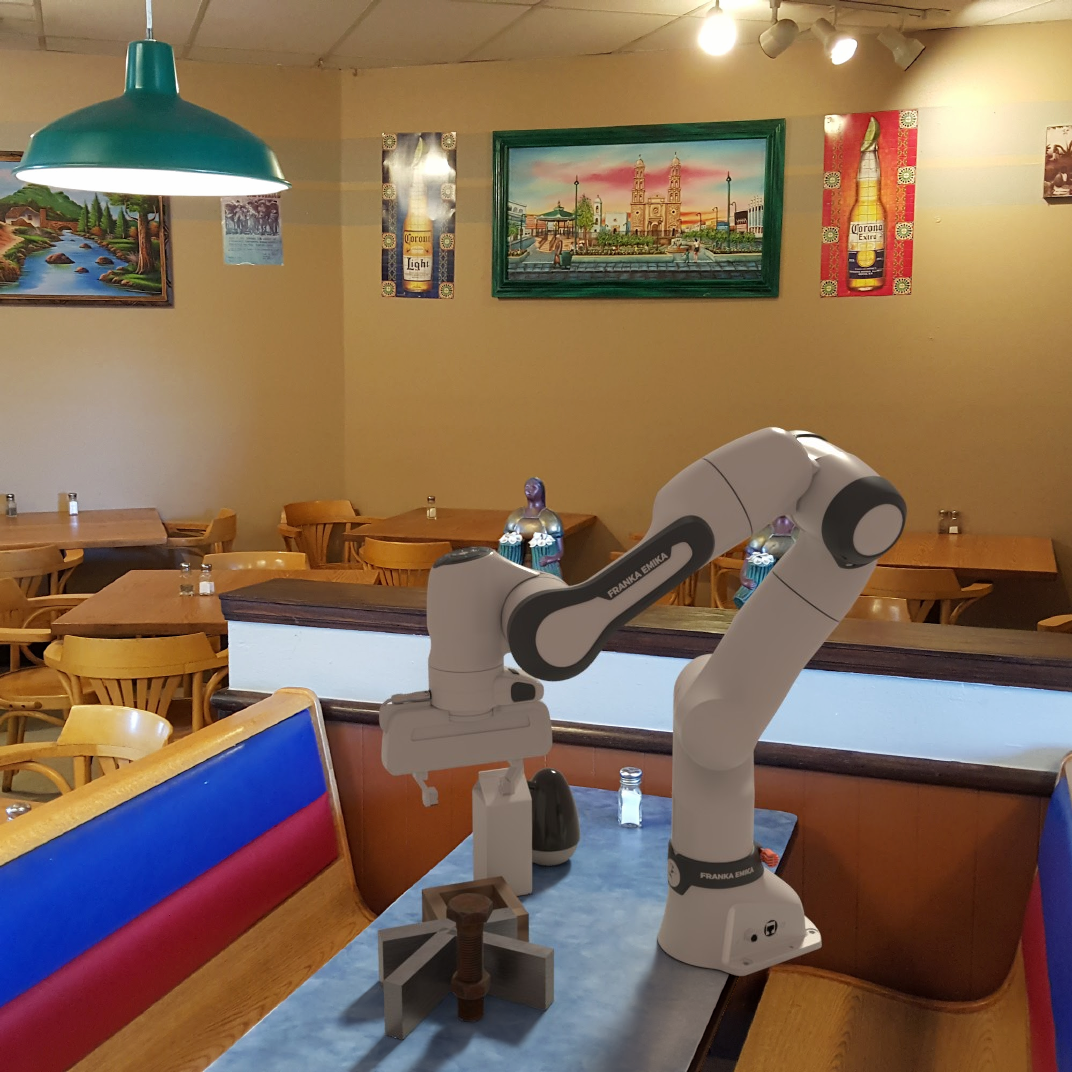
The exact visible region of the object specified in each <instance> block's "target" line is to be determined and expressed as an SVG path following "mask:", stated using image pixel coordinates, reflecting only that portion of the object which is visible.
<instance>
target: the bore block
mask: <svg viewBox="0 0 1072 1072" xmlns="http://www.w3.org/2000/svg"><path fill="white" fill-rule="evenodd" d="M464 893H474V894H481V895H484V896H486V897H488V898H489V899H490V900H491V901H492V902H493V910H496V909H502V908H508V907H510V908H511V909H512V910H513V912H514V913H515V915H516V916H517V940H521V941H525V942H529V943H530V913H529V912H528V911H527V910H526V908H525V906H524V905H523V904H522V902H521V900H520V899H519V897H518V896H516V895H515V894H514V892H513V891H512V890H511V888H510V887H509V885H508V884H507V883H506V881H505V880H504V878H503V877H502V876H499V877H492V878H486V879H480V880H469V881H463V882H457V883H451V884H444V885H439V886H432V887H426V888H422V889H421V917H422V922H427V921H433V920H439V919H445V918H446V909H447V905H448V903H449V901H450V900H451V899H452V898H454V897H456V896H458V895H460V894H464Z"/></svg>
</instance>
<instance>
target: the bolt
mask: <svg viewBox="0 0 1072 1072" xmlns="http://www.w3.org/2000/svg"><path fill="white" fill-rule="evenodd" d="M492 912H493V902H492V901H491V900H490V899H489V898H488V897H486V896H484V895H481V894H474V893H464V894H460V895H458V896H456V897H454V898H452V899H451V900H450V901H449V903H448V905H447V909H446V918H447V919H449V920H452V921H454V922H456V929H457V968H458V969H457V971H456V972H455V973H454V975H453V977H452V980H451V993H453V994H454V996H456V997H457V1016H458V1019H460V1020H461V1021H464V1022H469V1023H473V1022H477V1021H479V1020H481V1019H483V1017H484V1015H485V996H487V995H486V994H487V992H488V990H489V987H490V975H489V974H488V973H487V972H486V971H485V970H484V969H483V968H484V967H483V966H484V964H483V963H484V962H483V955H484V954H483V928H484V923H487V921H488V919H489V917H490V915H491V914H492Z"/></svg>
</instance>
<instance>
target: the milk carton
mask: <svg viewBox="0 0 1072 1072" xmlns="http://www.w3.org/2000/svg"><path fill="white" fill-rule="evenodd" d="M508 769H509V767H505V768H499V769H498V768H497V769H489V770H481V771H478V779H477V781H476V783H474V785H473V787H472V788H471V789H472V790H471V792H472V793H471V794H472V795H471V796H472V799H471V801H472V804H471V805H472V864H473V865H472V866H473V867H472V869H473V871H472V872H473V873H472V875H473V880H472V881H474V880H480V879H486V878H492V877H499V876H502V877H503V878H504V880H505V881H506V883H507V884H508V885H509V887H510V888H511V890H512V891H513V892H514V894H515V895H516V897H519V896H524V895H529V894H528V893H530V894H532V893H533V862H532V798H531V795H530V791H529V788H528V785H527V781H526V780H527V778H526V775H525V766H524V765H523V768H522V770H521V772H520V774H519V776H518V777H517V779H516V781H515V793H514V794H511V795H504V796H502V794H501V793H500V792H499V785H500V784H499V778H500V777H505V775H506V773H507V771H508ZM531 892H532V893H531Z"/></svg>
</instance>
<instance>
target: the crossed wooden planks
mask: <svg viewBox="0 0 1072 1072" xmlns="http://www.w3.org/2000/svg"><path fill="white" fill-rule="evenodd" d="M377 951H378V952H377V953H378V954H377V955H378V956H377V957H378V958H377V959H378V981H379V984H380V986H381V988H382V991H383V1008H384V1009H383V1011H384V1012H383V1013H384V1035H385V1034H386V1035H385V1036H387V1035H389V1036H388V1037H390V1036H393V1037H392V1038H394V1037H396V1038H395V1039H397V1038H400V1039H399V1040H401V1039H404V1038H405V1037H408V1036H409V1034H411V1032H412V1031H413V1030H414V1029H415V1028H416V1027H418V1026H419V1025H420V1023H422V1022H423V1020H424V1019H425V1018H426V1017H427V1016H428V1015H429V1014H430V1013H431V1012H432V1011H433V1010H435V1008H436V1007H437V1006H438V1005H439V1004H440V1003H441V1002H442V1001H443V1000H444V999H445V998H446V997H447V996H449V994H450V993H452V991H451V980H452V977H453V975H454V973H455V972H456V971H457V969H458V968H457V929H456V922H454V921H452V920H449V919H447V918H445V919H439V920H433V921H427V922H416V923H412V924H405V925H399V926H394V927H393V926H392V927H388V928H382V929H381V928H380V929H377ZM483 954H484V955H483V962H484V963H483V964H484V966H483V967H484V968H483V969H484V970H485V971H486V972H487V973H488V974H489V975H490V987H489V990H488V992H487V994H486V995H485V996H491V997H493V998H494V997H495V998H498V999H501V1000H505V1001H508V1002H513V1003H516V1004H520V1005H524V1006H527V1007H531V1008H535V1009H539V1010H543V1011H547V1010H548V1008H549V1007H550V1006H551V1005H552V1003H553V1002H555V948H553V947H548V946H545V945H540V944H537V943H533V942H530V941H529V942H525V941H521V940H517V916H516V915H515V913H514V912H513V910H512V909H511V908H510V907H508V908H502V909H496V910H493V912H492V914H491V915H490V917H489V919H488V921H487V923H484V928H483ZM405 1039H406V1038H405ZM405 1039H404V1040H405Z"/></svg>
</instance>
